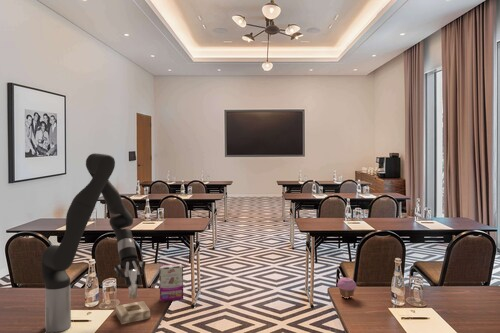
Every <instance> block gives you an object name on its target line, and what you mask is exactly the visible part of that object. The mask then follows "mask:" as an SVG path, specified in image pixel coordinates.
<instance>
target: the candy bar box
mask: <svg viewBox="0 0 500 333" xmlns="http://www.w3.org/2000/svg"><path fill="white" fill-rule="evenodd" d="M158 269H159V301H160V302H161V303H162V302H171V301H172V302H173V301H180V300H184V265H183V263H173V264H164V265H163V264H162V265H159V268H158Z"/></svg>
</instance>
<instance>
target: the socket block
mask: <svg viewBox="0 0 500 333" xmlns="http://www.w3.org/2000/svg"><path fill="white" fill-rule="evenodd" d="M115 315H116V317H117V319H118V320H119V322H120V324H121V325H125V324H129V323H134V322H139V321H143V320H149V319H151V309H150V308H149V307H148V306H147V304H146V303H145V301H144V300H141V301H136V302H131V303H130V302H129V303H125V304H120V305H119V304H118V305H115Z"/></svg>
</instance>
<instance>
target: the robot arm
mask: <svg viewBox="0 0 500 333" xmlns="http://www.w3.org/2000/svg"><path fill="white" fill-rule="evenodd" d="M85 167H86V169H87V171H88V173H89V176H91V180H90V181H89V182H88V184H87V185H86V186H84V188H82V189H81V190H80V191H79V192H78V193H77V194H76V195H75V196H74V198H72V201H71V203H70V206H69V207H68V209H67V212H66V216H65V230H64V231H65V232H64V235H63V238H62V239H61V242H60V244H59V245H56V244H53V245H49V246H47V247H46V248H45V250H44V251H43V253H42V256H41V271H42V272H41V273H42V275H41V276H42V281H43V283H44V292H45V294H44V298H45V300H44V303H45V305H44V318H45V319H44V320H45V321H44V322H45V323H44V324H45V333H59V332H64V331H66V330H68V329H70V328H71V327H72V326H71V325H72V316H71V315H72V314H71V311H72V308H71V303H72V302H71V277H70V276H69V274H68V273H67V271H66V270H68V269H69V268H70V267H71V265H72V264H73V262H74V259H75V257H76V254H77V251H78V248H79V245H80V242H81V239H82V237H83V235H84V232H85V230H86V228H87V225H88V223H89V221H90V218H91V217H92V215H93V212H94V210H95V209H96V208H95V207H96V206H97V205H96V204H97V203H98V201H99V199H100V196H101V195H102V197H103V199H104V202H105V204H106V207H107V210H108V212H109V213H110V214H112V216H111V217H110V219H109V226H110V227H111V229H112V231H113V232H114V234H115V237H116V241H117V252H118V256H119V257H118V258H119V264H118V265H117V264H116V265H115V266H114V269H113V270H114V271H115V273H116V274H117V277H118V278H119V279H120V280H122V279H123V280H124V282H125V286H126V287H128V288H129V287H130V281H129V277H128V270H129V269H137V286H140V285H141V283H142V279H141V276H142V277H143V276H144V273H145V269H146V268H145V267H146V261H145V260H143V261H140V260H139V258H138V254H137V248H136V244H135V242H134V239H133V238H134V237H133V233H132V232H133V231H132V230H131V229H129V227H131V226H133V224H134V218H133V216H132V214H131V212H129V210H128V209H127V208H126V206H125V204H124V203H123V199H122V198H121V197H122V196H121V195H120V192H119V191H118V190H117V188H116V187H115V186H114V185H113V183H111V181H110V180H109V179H110V177H111V176H112V174H113V172H114V170H115V168H116V161H115V157H114V156H112V155H110V154H106V153H105V154H104V153H95V152H94V153H91V154H89V155H88V156H87V157H86V160H85ZM139 266H140V270H139ZM121 269H122V270H123V271H124V273H123V272H122V270H121Z"/></svg>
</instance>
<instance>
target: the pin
mask: <svg viewBox="0 0 500 333" xmlns="http://www.w3.org/2000/svg"><path fill="white" fill-rule="evenodd" d="M128 277H129V281H130V287H128V299H131V300H135V299H137V298H138V285H137V269H129V270H128Z"/></svg>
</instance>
